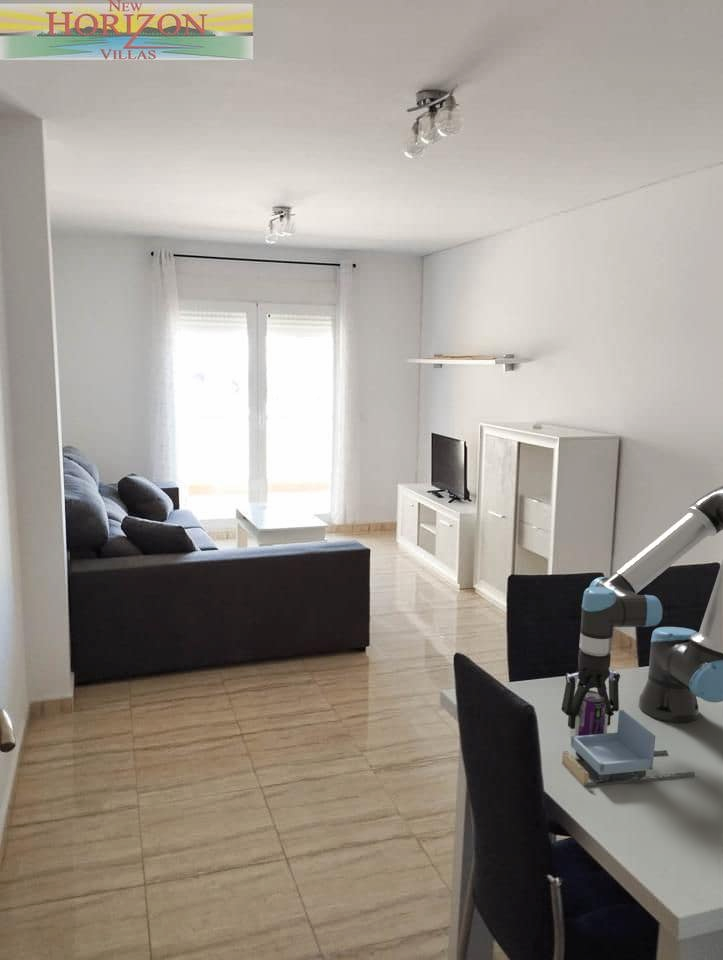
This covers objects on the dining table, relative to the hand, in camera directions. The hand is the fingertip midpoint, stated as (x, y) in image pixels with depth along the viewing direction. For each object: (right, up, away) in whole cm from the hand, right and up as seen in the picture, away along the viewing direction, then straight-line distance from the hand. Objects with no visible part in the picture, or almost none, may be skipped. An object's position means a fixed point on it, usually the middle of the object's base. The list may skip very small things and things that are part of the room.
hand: (587, 738), depth 188 cm
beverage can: (0, -1, 0) cm, 1 cm away
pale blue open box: (+1, -3, -14) cm, 14 cm away
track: (+6, -3, -13) cm, 14 cm away
